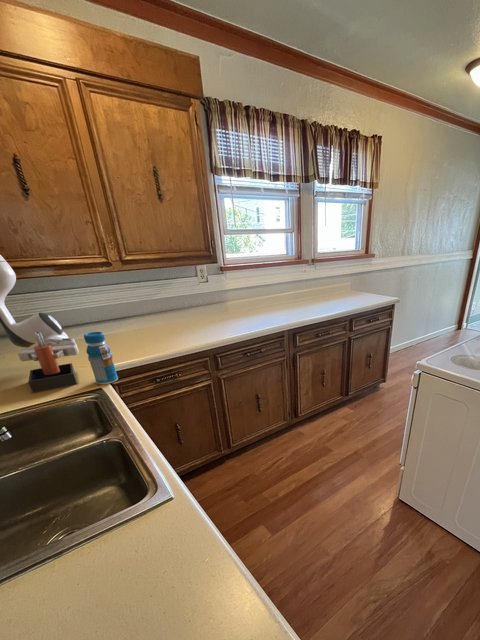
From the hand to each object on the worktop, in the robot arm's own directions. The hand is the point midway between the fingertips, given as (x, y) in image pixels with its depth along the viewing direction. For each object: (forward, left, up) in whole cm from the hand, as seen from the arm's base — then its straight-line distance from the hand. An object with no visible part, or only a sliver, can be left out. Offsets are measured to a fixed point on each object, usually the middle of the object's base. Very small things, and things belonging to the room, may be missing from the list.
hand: (45, 357), depth 129 cm
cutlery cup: (0, +1, -6) cm, 7 cm away
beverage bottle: (+18, -10, -11) cm, 23 cm away
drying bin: (0, +1, -11) cm, 11 cm away
